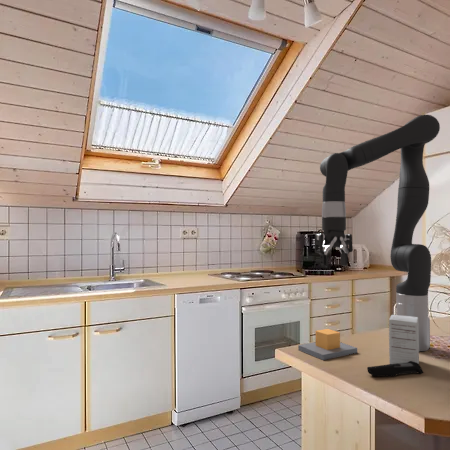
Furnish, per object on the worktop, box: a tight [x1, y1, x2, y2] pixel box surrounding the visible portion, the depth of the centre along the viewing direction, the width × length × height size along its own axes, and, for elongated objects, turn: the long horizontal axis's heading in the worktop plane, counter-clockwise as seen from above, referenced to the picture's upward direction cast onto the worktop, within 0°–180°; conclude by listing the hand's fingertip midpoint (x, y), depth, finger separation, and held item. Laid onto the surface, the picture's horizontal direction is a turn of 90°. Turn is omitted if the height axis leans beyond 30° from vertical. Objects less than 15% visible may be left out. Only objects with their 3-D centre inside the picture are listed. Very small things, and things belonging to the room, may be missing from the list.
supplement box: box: [388, 314, 420, 365], centre depth 108 cm, size 7×7×13 cm
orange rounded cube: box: [314, 328, 341, 350], centre depth 118 cm, size 5×5×5 cm
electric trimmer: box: [367, 361, 424, 377], centre depth 99 cm, size 4×16×3 cm, turn 104°
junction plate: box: [297, 341, 358, 361], centre depth 118 cm, size 14×11×4 cm
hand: (334, 266), depth 123 cm, fingers open, 8 cm apart
